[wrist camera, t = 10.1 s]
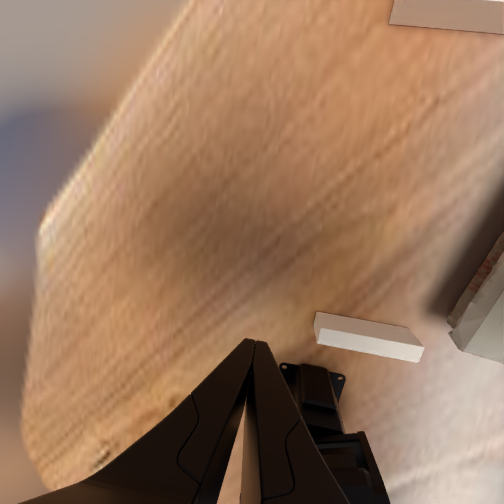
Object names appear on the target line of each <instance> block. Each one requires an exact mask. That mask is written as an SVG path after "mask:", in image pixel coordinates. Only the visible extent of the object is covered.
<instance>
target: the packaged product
mask: <svg viewBox="0 0 504 504" xmlns="http://www.w3.org/2000/svg"><path fill="white" fill-rule="evenodd" d="M447 323H448V324H450V325H451V327H452V328H453V330H452V331H450V332H449V333H448V334H449V335H450V337H451V339H452V340H453V342H454V343H455V345H456V346H457V348H458V349H459V350H461V351H463V352H466V353H469V354H473V355H476V356H480V357H483V358H487V359H490V360H493V361H497V362H500V363H504V231H503V232H502V234H501V235H500V236H499V238H498V239H497V241H496V243H495V244H494V246H493V248H492V250H491V251H490V252H489V253H488V255H487V257H486V259H485V261H484V262H483V264H482V265H481V266H480V267H479V268H478V271H477V273H476V274H475V276H474V277H473V279H472V280H471V282H470V284H469V285H468V286H467V288H466V289H465V291H464V293H463V294H462V296H461V297H460V298H459V301H458V302H457V304H456V306H455V308H454V309H453V311H452V312H451V315H449V316H448V317H447Z"/></svg>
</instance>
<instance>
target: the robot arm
mask: <svg viewBox="0 0 504 504" xmlns="http://www.w3.org/2000/svg"><path fill="white" fill-rule="evenodd" d="M255 343H256V344H255ZM254 349H255V350H254ZM253 355H254V356H253ZM252 361H253V362H252ZM283 365H285V366H286V367H287V368H286V369H283V368H282V366H283ZM251 367H252V368H251ZM250 373H251V374H250ZM338 377H342V378H343V379H342V380H338ZM249 379H250V380H249ZM345 380H346V378H345V376H344V375H342V374H338V373H333V372H328V370H327V369H323V368H318V367H313V366H308V365H303V364H301V365H300V366H299V365H294V364H289V363H281V364H280V365H279V367H278V365H277V363H276V361H275V358H274V356H273V354H272V352H271V350H270V348H269V346H268V344H267V342H263V341H258V340H257V341H255V340H253V339H248V338H245V339H244V340H243V341H242V342H241V343H240V344H239V345H238V346H237V347H236V348H235V349H234V350H233V351H232V352H231V353H230V354H229V355H228V356H227V357H226V358H225V359H224V360H223V361H222V362H221V363H220V364H219V365H218V366H217V367H216V368H215V369H214V370H213V371H212V372H211V373H210V374H209V375H208V376H207V377H206V378H205V379H204V380H203V381H202V382H201V383H200V384H199V385H198V386H197V387H196V388H195V389H194V390H193V391H192V392H191V395H190V394H189V395H188V396H187V397H186V398H185V399H184V400H183V401H182V402H181V403H180V404H179V405H178V406H177V407H176V408H175V409H174V410H173V411H172V412H171V413H170V414H169V415H168V416H166V417H165V418H164V419H163V420H162V421H160V422H159V423H158V424H157V425H156V426H154V427H153V428H152V429H151V430H150V431H148V432H147V433H146V434H145V435H143V436H142V437H141V438H140V439H138V440H137V441H136V442H135V443H134V444H132V445H131V446H130V447H129V448H127V449H126V450H125V451H124V452H122V453H121V454H120V455H119V456H117V457H116V458H115V459H114V460H112V461H111V462H110V463H109V464H107V465H106V466H105V467H103V468H102V469H101V470H99V471H98V472H96V473H95V474H93V475H91V476H90V477H88V478H86V479H84V480H82V481H80V482H78V483H76V484H73V485H70V486H67V487H64V488H62V489H59V490H56V491H53V492H50V493H47V494H44V495H41V496H38V497H36V498H33V499H30V500H27V501H24V502H21V503H18V504H217V500H218V497H219V493H220V490H221V487H222V483H223V480H224V476H225V473H226V469H227V466H228V462H229V459H230V455H231V452H232V448H233V445H234V442H235V438H236V435H237V431H238V428H239V424H240V421H241V417H242V414H243V410H244V406H245V421H244V441H243V460H242V480H241V493H240V504H390V501H389V498H388V495H387V492H386V489H385V486H384V483H383V480H382V477H381V475H380V472H379V469H378V467H377V464H376V461H375V459H374V456H373V453H372V451H371V448H370V445H369V443H368V440H367V437H366V435H365V432H364V431H359V432H357V433H352V434H345V430H344V426H343V422H342V418H341V414H340V410H339V406H338V402H339V399H340V395H341V392H342V389H343V386H344V383H345ZM248 385H249V386H248ZM247 391H248V392H247ZM246 397H247V398H246ZM245 402H246V405H245Z"/></svg>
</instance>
